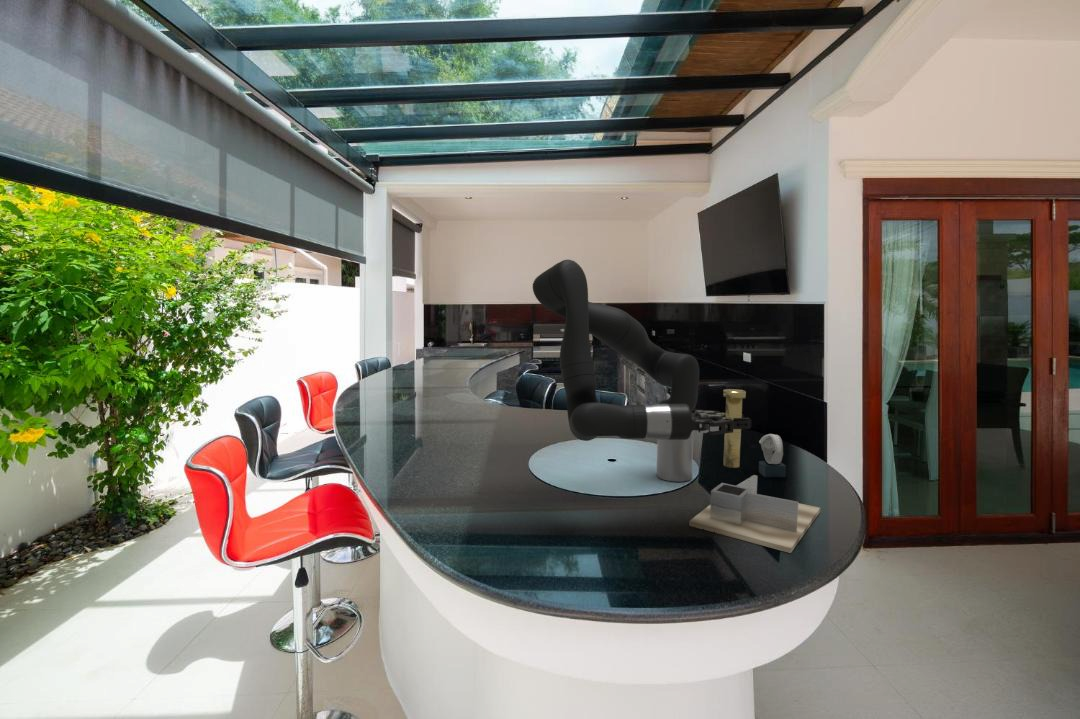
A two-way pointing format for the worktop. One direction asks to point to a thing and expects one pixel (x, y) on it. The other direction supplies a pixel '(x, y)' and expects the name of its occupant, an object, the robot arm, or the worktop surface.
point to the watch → (772, 457)
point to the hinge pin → (734, 438)
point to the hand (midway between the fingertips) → (746, 421)
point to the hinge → (752, 506)
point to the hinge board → (760, 529)
